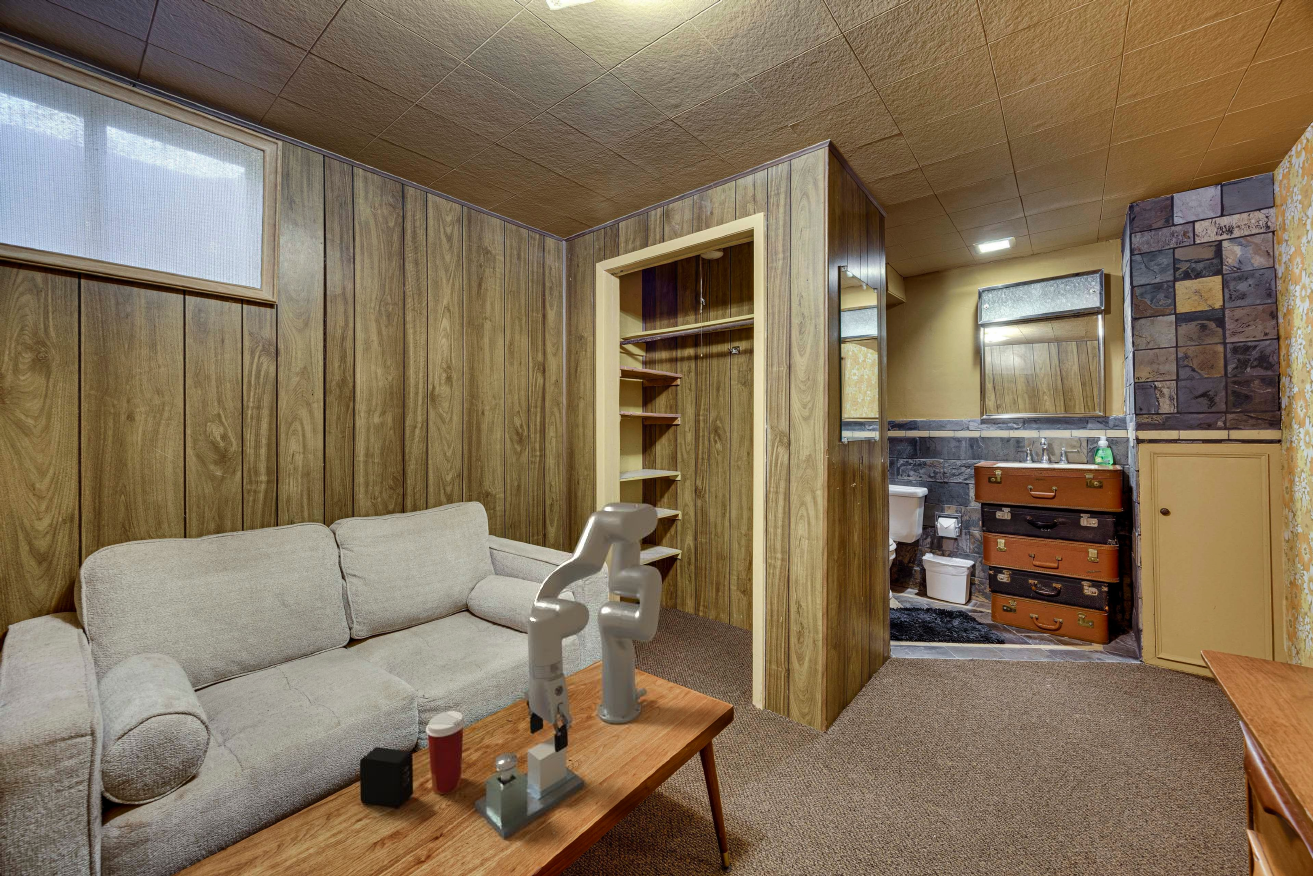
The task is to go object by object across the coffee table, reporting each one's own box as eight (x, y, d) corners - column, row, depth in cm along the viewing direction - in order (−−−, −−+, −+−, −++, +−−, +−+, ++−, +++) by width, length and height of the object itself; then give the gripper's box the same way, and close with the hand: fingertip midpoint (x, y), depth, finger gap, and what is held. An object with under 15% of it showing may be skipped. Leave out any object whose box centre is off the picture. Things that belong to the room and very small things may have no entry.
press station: (553, 763, 122) (553, 730, 122) (584, 786, 113) (583, 751, 113) (475, 808, 107) (474, 771, 107) (504, 839, 99) (503, 799, 99)
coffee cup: (473, 776, 117) (472, 713, 117) (448, 801, 109) (447, 733, 109) (444, 769, 120) (443, 707, 120) (418, 792, 112) (417, 726, 112)
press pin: (510, 777, 108) (510, 750, 108) (521, 787, 105) (521, 759, 105) (491, 788, 105) (491, 760, 105) (502, 798, 102) (501, 769, 102)
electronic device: (400, 810, 107) (399, 763, 107) (360, 803, 109) (359, 758, 109) (413, 796, 111) (412, 751, 111) (374, 790, 113) (373, 746, 113)
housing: (553, 766, 118) (553, 736, 118) (566, 775, 115) (565, 745, 115) (527, 781, 113) (527, 750, 113) (540, 791, 110) (539, 760, 110)
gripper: (582, 672, 111) (585, 747, 111) (538, 649, 123) (541, 717, 123) (554, 686, 105) (557, 765, 106) (511, 660, 117) (514, 731, 118)
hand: (548, 739), depth 115 cm, fingers open, 9 cm apart
